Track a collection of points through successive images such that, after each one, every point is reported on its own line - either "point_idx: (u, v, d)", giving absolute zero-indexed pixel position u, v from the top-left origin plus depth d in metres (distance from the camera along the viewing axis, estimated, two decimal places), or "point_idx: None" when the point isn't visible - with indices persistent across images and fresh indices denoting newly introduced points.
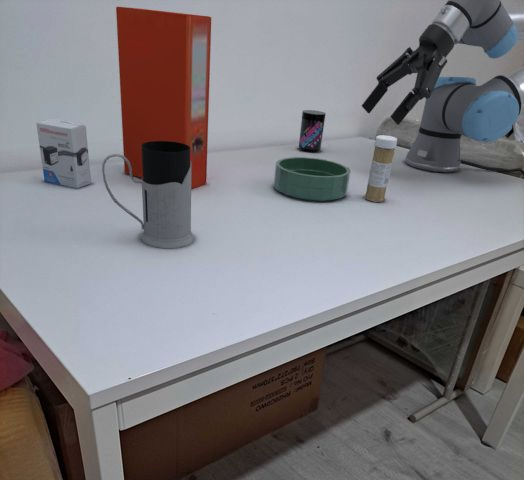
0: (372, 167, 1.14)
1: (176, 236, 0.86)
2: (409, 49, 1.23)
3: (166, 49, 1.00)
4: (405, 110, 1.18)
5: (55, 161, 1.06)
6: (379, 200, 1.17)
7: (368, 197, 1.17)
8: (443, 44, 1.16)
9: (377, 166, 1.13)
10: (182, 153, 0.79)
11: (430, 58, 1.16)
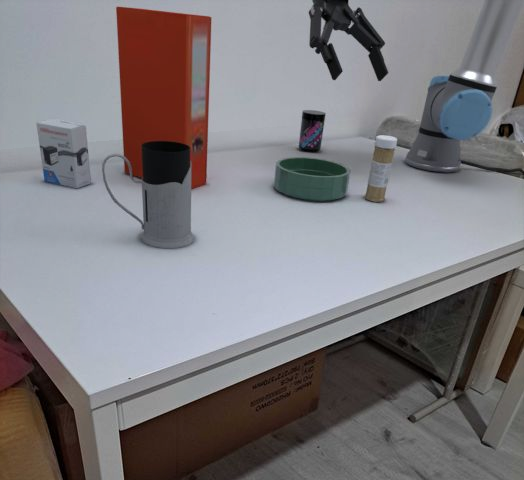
0: (372, 167, 1.14)
1: (176, 236, 0.86)
2: None
3: (166, 49, 1.00)
4: (332, 61, 1.09)
5: (55, 161, 1.06)
6: (379, 200, 1.17)
7: (368, 197, 1.17)
8: None
9: (377, 166, 1.13)
10: (182, 153, 0.79)
11: None
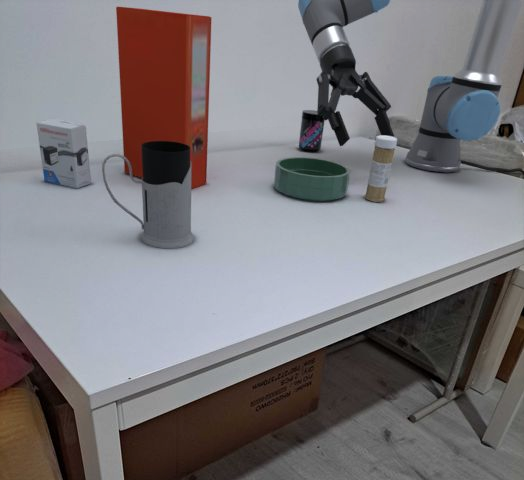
0: (372, 167, 1.14)
1: (176, 236, 0.86)
2: None
3: (166, 49, 1.00)
4: (339, 128, 1.12)
5: (55, 161, 1.06)
6: (379, 200, 1.17)
7: (368, 197, 1.17)
8: (324, 66, 1.16)
9: (377, 166, 1.13)
10: (182, 153, 0.79)
11: (329, 83, 1.16)
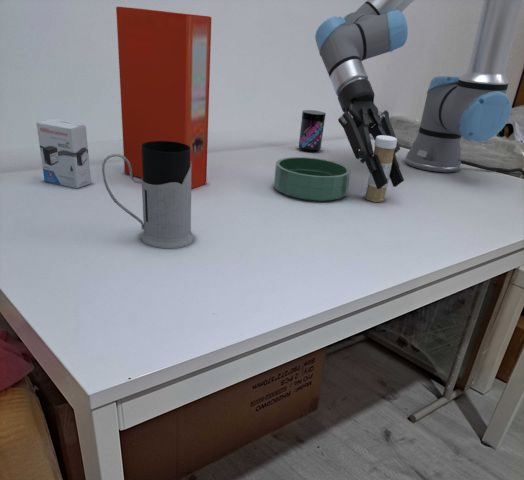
0: None
1: (176, 236, 0.86)
2: None
3: (166, 49, 1.00)
4: (377, 172, 1.12)
5: (55, 161, 1.06)
6: (379, 200, 1.17)
7: (368, 197, 1.17)
8: (342, 99, 1.14)
9: None
10: (182, 153, 0.79)
11: None
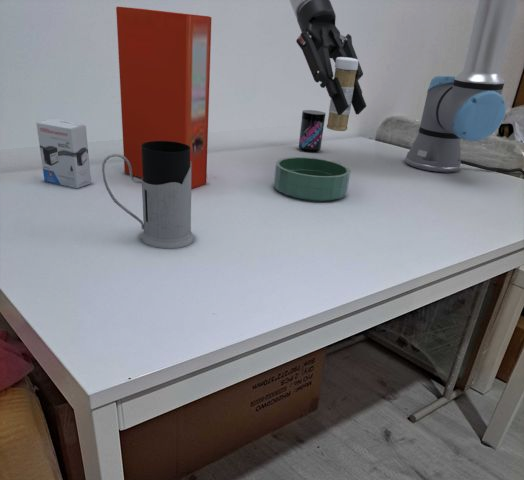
0: None
1: (176, 236, 0.86)
2: None
3: (166, 49, 1.00)
4: (337, 95, 1.06)
5: (55, 161, 1.06)
6: (341, 129, 1.10)
7: (329, 126, 1.11)
8: (301, 20, 1.07)
9: None
10: (182, 153, 0.79)
11: None
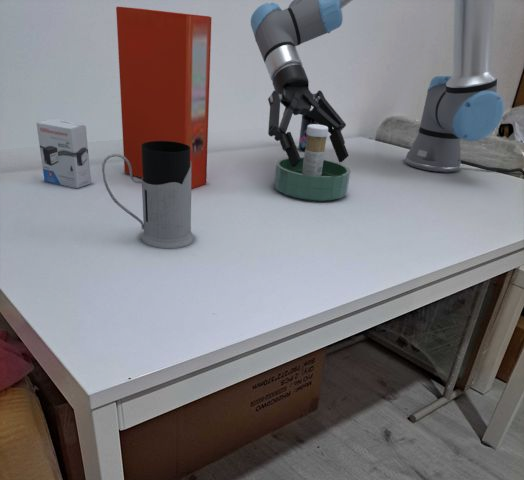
0: (305, 156, 1.15)
1: (176, 236, 0.86)
2: None
3: (166, 49, 1.00)
4: (290, 149, 1.11)
5: (55, 161, 1.06)
6: None
7: None
8: (276, 85, 1.15)
9: (309, 155, 1.14)
10: (182, 153, 0.79)
11: None
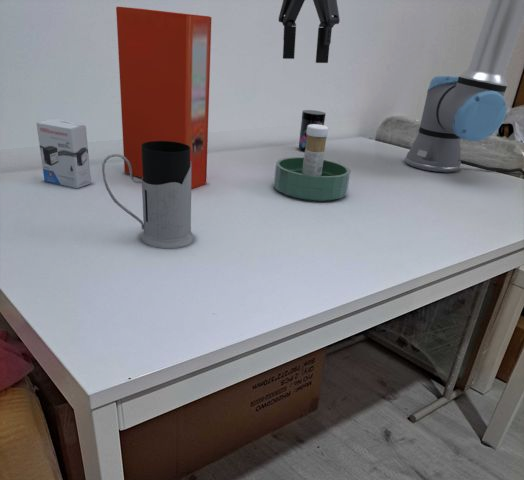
0: (305, 156, 1.15)
1: (176, 236, 0.86)
2: None
3: (166, 49, 1.00)
4: (325, 46, 1.12)
5: (55, 161, 1.06)
6: None
7: None
8: None
9: (309, 155, 1.14)
10: (182, 153, 0.79)
11: None
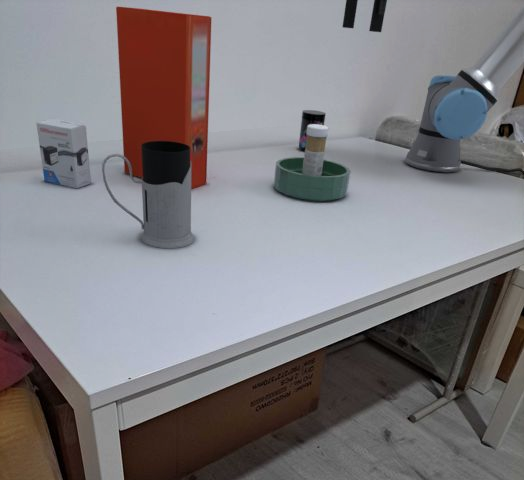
0: (305, 156, 1.15)
1: (176, 236, 0.86)
2: None
3: (166, 49, 1.00)
4: (380, 16, 1.18)
5: (55, 161, 1.06)
6: None
7: None
8: None
9: (309, 155, 1.14)
10: (182, 153, 0.79)
11: None
